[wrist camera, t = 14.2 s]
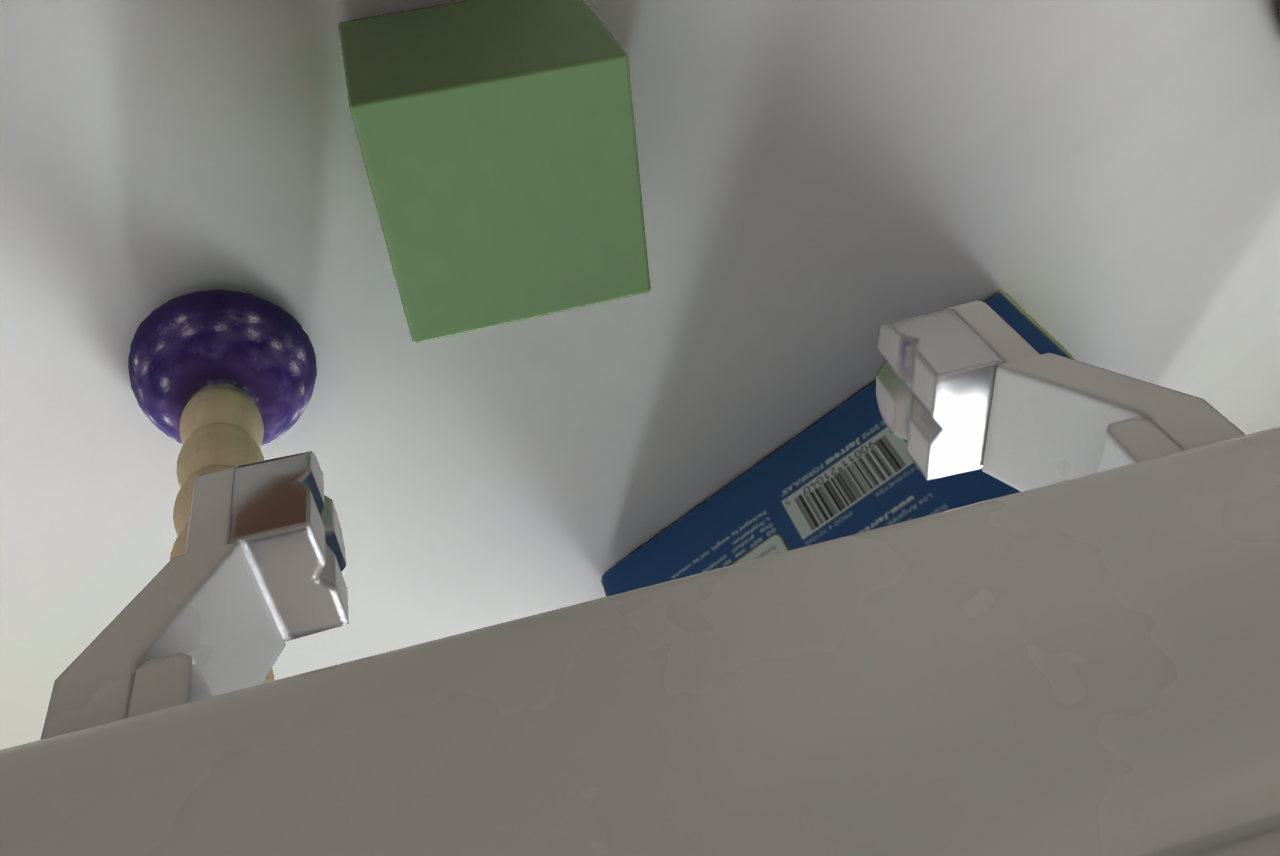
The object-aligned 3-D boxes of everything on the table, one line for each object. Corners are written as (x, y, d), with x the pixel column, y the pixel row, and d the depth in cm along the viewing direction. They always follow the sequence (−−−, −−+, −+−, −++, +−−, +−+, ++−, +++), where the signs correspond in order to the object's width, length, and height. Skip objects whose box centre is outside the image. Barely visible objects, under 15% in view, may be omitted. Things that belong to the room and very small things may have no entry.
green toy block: (393, 236, 25) (412, 345, 21) (337, 22, 22) (348, 104, 18) (597, 195, 26) (651, 293, 22) (570, -18, 23) (628, 53, 19)
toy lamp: (266, 244, 24) (246, 937, 11) (378, 385, 27) (462, 1062, 14) (88, 343, 25) (-128, 1128, 12) (218, 472, 28) (159, 1212, 15)
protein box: (1106, 472, 37) (1495, 871, 25) (751, 709, 40) (951, 1171, 28) (1003, 278, 31) (1458, 688, 19) (588, 576, 34) (757, 1100, 22)
